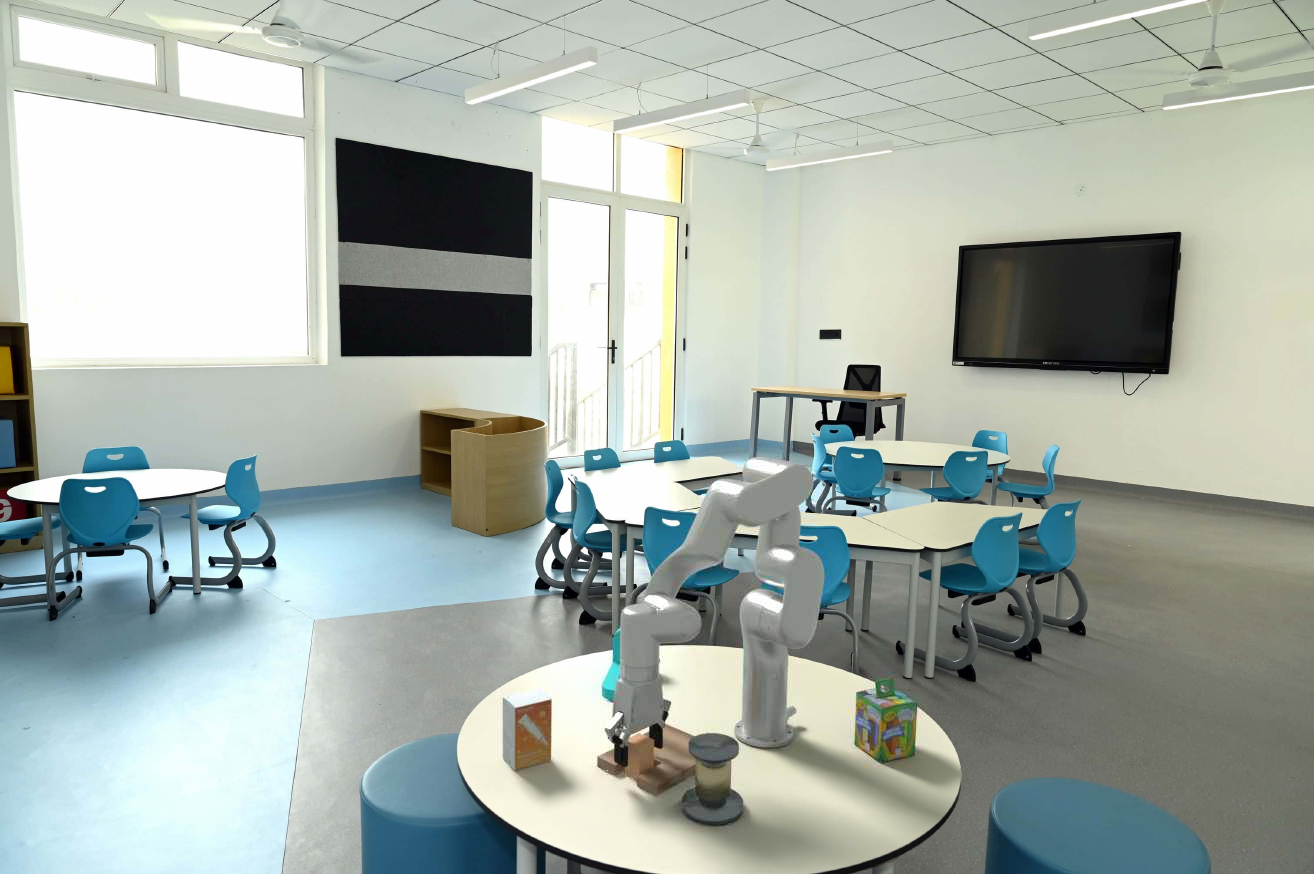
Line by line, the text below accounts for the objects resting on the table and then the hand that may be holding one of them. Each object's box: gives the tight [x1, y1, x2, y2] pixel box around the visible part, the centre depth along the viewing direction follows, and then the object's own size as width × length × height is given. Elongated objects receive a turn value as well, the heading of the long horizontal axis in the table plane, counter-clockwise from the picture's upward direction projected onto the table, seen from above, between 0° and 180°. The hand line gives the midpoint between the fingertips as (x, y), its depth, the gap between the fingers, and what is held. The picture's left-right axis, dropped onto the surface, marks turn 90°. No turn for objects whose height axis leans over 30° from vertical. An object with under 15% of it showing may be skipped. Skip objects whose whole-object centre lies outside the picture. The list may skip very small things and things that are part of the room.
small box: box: [502, 688, 553, 771], centre depth 163 cm, size 8×6×13 cm
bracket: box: [601, 627, 620, 702], centre depth 201 cm, size 20×9×12 cm, turn 173°
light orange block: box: [624, 732, 654, 781], centre depth 158 cm, size 4×4×7 cm
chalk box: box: [853, 677, 918, 763], centre depth 168 cm, size 9×9×15 cm
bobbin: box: [681, 732, 744, 827], centre depth 146 cm, size 11×11×12 cm
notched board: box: [596, 723, 696, 797], centre depth 163 cm, size 20×16×2 cm
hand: (638, 755), depth 158 cm, fingers open, 9 cm apart
